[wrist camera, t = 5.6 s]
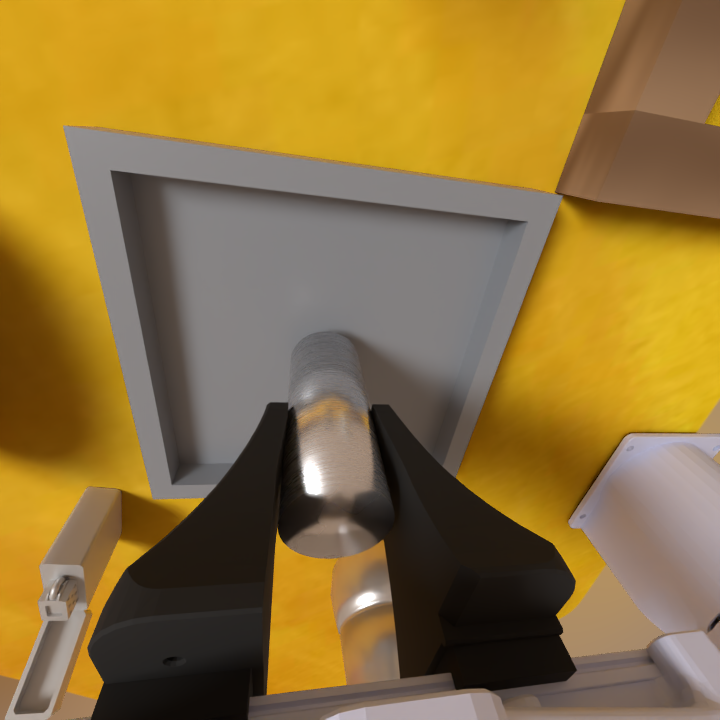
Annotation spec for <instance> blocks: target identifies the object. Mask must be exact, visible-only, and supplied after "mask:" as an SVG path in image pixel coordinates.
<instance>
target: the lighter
mask: <svg viewBox="0 0 720 720" xmlns="http://www.w3.org/2000/svg"><path fill="white" fill-rule="evenodd" d="M121 533H122V493H121V491H120V490H119V489H111V488H99V487H88V488H86V490H85V491H84V493H83V495H82V496H81V498H80V500H79V501H78V503H77V505H76V506H75V508H74V510H73V511H72V513H71V514H70V516H69V518H68V519H67V521H66V523H65V524H64V526H63V528H62V529H61V531H60V533H59V534H58V536H57V538H56V539H55V541H54V542H53V544H52V546H51V547H50V549H49V551H48V552H47V554H46V556H45V557H44V559H43V561H42V562H41V564H40V566H39V567H40V572H41V578H42V583H43V588H44V591H43V593H42V595H41V597H40V599H39V600H38V605H39V610H40V615H41V619H42V620H43V621H44V622H43V624H42V627H41V629H40V632H39V634H38V637H37V639H36V642H35V644H34V647H33V649H32V652H31V654H30V657H29V659H28V662H27V664H26V667H25V669H24V672H23V674H22V677H21V679H20V682H19V684H18V687H17V689H16V692H15V695H14V697H13V699H12V702H11V704H10V707H9V709H8V712H7V714H6V717H5V720H47V719H48V718H50V717H51V716H52V715H54V714H55V713H56V712H57V711H58V710H59V709H60V707H61V704H62V701H63V698H64V696H65V693H66V690H67V687H68V684H69V681H70V678H71V675H72V672H73V669H74V666H75V663H76V660H77V658H78V655H79V652H80V649H81V646H82V643H83V640H84V637H85V634H86V631H87V628H88V625H89V622H90V619H91V617H92V612H91V611H90V610H86V609H87V608H88V606H89V604H90V602H91V600H92V597H93V595H94V593H95V591H96V589H97V586H98V584H99V582H100V580H101V577H102V575H103V573H104V571H105V569H106V566H107V564H108V562H109V560H110V558H111V555H112V553H113V551H114V549H115V546H116V544H117V542H118V540H119V538H120V535H121Z"/></svg>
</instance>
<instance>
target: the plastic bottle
mask: <svg viewBox="0 0 720 720" xmlns="http://www.w3.org/2000/svg"><path fill="white" fill-rule="evenodd" d="M331 599H332V605H333V610H334V616H335V620H336V624H337V628H338V631H339V634H340V639H341V646H342V653H343V660H344V667H345V674H346V681H347V685H354V684H362V683H370V682H378V681H386V680H394V679H400V671H399V661H398V651H397V640H396V631H395V622H394V614H393V605H392V597H391V589H390V581H389V573H388V566H387V559H386V552H385V546H384V540H382V541H381V542H379V543H378V544H376V545H375V546H373V547H372V548H370V549H368V550H366V551H363V552H361V553H358V554H355V555H351V556H347V557H341V558H338V560H337V562H336V564H335V566H334V569H333V575H332V587H331Z"/></svg>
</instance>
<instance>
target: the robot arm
mask: <svg viewBox="0 0 720 720" xmlns="http://www.w3.org/2000/svg"><path fill="white" fill-rule="evenodd" d="M371 414H372V418H373V422H374V427H375V431H376V435H377V440H378V444H379V448H380V453H381V457H382V461H383V466H384V470H385V474H386V479H387V483H388V487H389V492H390V496H391V500H392V504H393V509H394V514H395V519H394V524H393V527H392V529H391V530H390V532H389V533H388V535H387V536H386V537H385V538H384V539H383V540H384V546H385V552H386V559H387V566H388V573H389V581H390V589H391V597H392V605H393V614H394V622H395V631H396V640H397V651H398V661H399V671H400V679H394V680H386V681H378V682H370V683H362V684H354V685H345V686H337V687H329V688H321V689H313V690H305V691H297V692H288V693H280V694H272V695H266V694H267V676H268V658H269V640H270V623H271V606H272V589H273V572H274V555H275V543H276V534H277V527H278V518H279V505H280V492H281V479H282V465H283V455H284V448H285V441H286V434H287V423H288V402H270V403H269V404H267V406H266V409H265V412H264V414H263V416H262V418H261V420H260V422H259V424H258V426H257V428H256V430H255V432H254V433H253V435H252V437H251V438H250V440H249V442H248V443H247V445H246V447H245V448H244V450H243V451H242V452H241V454H240V455H239V457H238V458H237V460H236V461H235V463H234V464H233V465H232V467H231V468H230V469H229V471H228V472H227V473H226V474H225V476H224V477H223V478H222V479H221V481H220V482H219V483H218V484H217V485H216V487H215V488H214V489H213V490H212V491H211V492H210V493H209V494H208V495H207V497H206V498H205V499H204V500H203V501H202V502H201V503H200V504H199V505H198V506H197V507H196V508H195V509H194V510H193V511H192V512H191V513H190V514H189V515H188V516H187V517H186V518H185V519H184V520H183V521H182V522H181V523H180V524H179V525H178V526H176V527H175V528H174V529H173V530H172V531H171V532H170V533H169V534H168V535H167V536H166V537H164V538H163V539H162V540H161V541H160V542H159V543H157V544H156V545H155V546H154V547H153V548H151V549H150V550H149V551H148V552H146V553H145V554H144V555H143V556H141V557H140V558H139V559H138V560H136V561H135V562H134V563H133V564H132V565H130V566H129V567H128V568H127V569H126V570H125V571H124V573H123V574H122V576H121V578H120V579H119V581H118V583H117V584H116V586H115V588H114V590H113V591H112V593H111V595H110V597H109V599H108V600H107V602H106V604H105V606H104V608H103V610H102V613H101V615H100V618H99V620H98V623H97V625H96V628H95V630H94V633H93V635H92V638H91V640H90V642H89V645H88V647H87V648H88V652H89V656H90V658H91V660H92V662H93V663H94V665H95V667H96V669H97V671H98V672H99V674H100V676H101V678H102V679H103V681H104V684H103V687H102V689H101V692H100V695H99V698H98V700H97V703H96V706H95V709H94V712H93V714H92V717H85V718H77V719H68V720H720V465H719V464H718V463H717V462H715V461H714V460H713V458H714V456H715V455H716V454H717V453H718V452H719V451H720V434H677V433H632V434H629V435H627V436H625V437H624V439H623V440H622V442H621V443H620V445H619V446H618V448H617V449H616V451H615V452H614V454H613V455H612V456H611V458H610V459H609V461H608V462H607V464H606V465H605V467H604V468H603V470H602V471H601V473H600V474H599V476H598V477H597V479H596V480H595V482H594V483H593V485H592V486H591V488H590V489H589V491H588V492H587V494H586V495H585V497H584V498H583V500H582V501H581V503H580V504H579V506H578V507H577V509H576V510H575V512H574V513H573V515H572V516H571V518H570V519H569V521H568V524H569V526H570V527H571V528H581V529H582V530H583V532H584V533H585V534H586V536H587V537H588V539H589V540H590V541H591V543H592V544H593V546H594V547H595V548H596V550H597V551H598V553H599V554H600V556H601V557H602V558H603V560H604V561H605V563H606V564H607V565H608V567H609V568H610V570H611V571H612V572H613V574H614V575H615V577H616V578H617V579H618V581H619V582H620V584H621V585H622V587H623V588H624V589H625V591H626V592H627V594H628V595H629V596H630V598H631V599H632V601H633V602H634V603H635V604H636V606H637V607H638V608H639V610H640V611H641V612H642V613H643V614H644V615H645V616H646V617H647V618H648V619H649V620H650V621H651V622H652V623H653V624H655V625H656V626H657V627H658V628H659V629H661V630H662V631H664V632H665V633H666V634H663V635H661V636H658V637H657V638H655V639H654V640H653V641H651V642H650V643H649V644H648V645H647V648H646V649H639V650H631V651H623V652H614V653H607V654H598V655H590V656H582V657H575V658H571V657H570V655H569V653H568V651H567V649H566V648H565V646H564V644H563V642H562V640H561V638H560V636H559V635H561V634H562V633H563V628H562V626H561V624H560V622H559V620H558V618H557V616H556V614H557V613H558V612H559V611H560V609H561V608H562V607H563V606H564V604H565V603H566V602H567V601H568V600H569V598H570V597H571V595H572V594H573V592H574V589H575V582H576V581H575V579H574V577H573V575H572V573H571V572H570V570H569V568H568V567H567V565H566V563H565V562H564V560H563V558H562V557H561V555H560V554H559V552H558V551H557V549H556V548H555V546H554V545H553V543H551V542H549V541H547V540H546V539H544V538H542V537H540V536H538V535H537V534H535V533H533V532H531V531H530V530H528V529H526V528H524V527H523V526H521V525H519V524H518V523H516V522H514V521H513V520H511V519H510V518H508V517H507V516H505V515H504V514H502V513H500V512H499V511H497V510H496V509H495V508H493V507H492V506H490V505H489V504H487V503H486V502H485V501H483V500H482V499H481V498H479V497H478V496H477V495H475V494H474V493H473V492H471V491H470V490H469V489H468V488H466V487H465V486H464V485H463V484H462V483H460V482H459V481H458V480H457V479H456V478H455V477H454V476H452V475H451V474H450V473H449V472H448V471H447V470H446V469H445V468H444V467H443V466H441V465H440V464H439V463H438V462H437V460H436V459H435V458H434V457H433V456H432V455H431V454H430V453H429V452H428V451H427V450H426V449H425V448H424V447H423V446H422V444H421V443H420V442H419V441H418V440H417V439H416V438H415V436H414V435H413V434H412V433H411V432H410V430H409V429H408V428H407V427H406V425H405V424H404V423H403V422H402V420H401V419H400V418H399V417H398V415H397V414H396V413H395V411H394V410H393V409H392V408H391V407H390V405H389V404H372V408H371Z"/></svg>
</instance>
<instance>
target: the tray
mask: <svg viewBox="0 0 720 720" xmlns="http://www.w3.org/2000/svg"><path fill="white" fill-rule="evenodd" d="M63 127H64V131H65V136H66V140H67V144H68V148H69V152H70V156H71V160H72V165H73V169H74V173H75V177H76V181H77V185H78V190H79V194H80V198H81V202H82V206H83V210H84V214H85V219H86V223H87V227H88V231H89V235H90V239H91V244H92V248H93V252H94V256H95V260H96V264H97V268H98V273H99V277H100V281H101V285H102V289H103V293H104V297H105V302H106V306H107V310H108V314H109V318H110V322H111V327H112V331H113V335H114V339H115V343H116V347H117V351H118V356H119V360H120V364H121V368H122V372H123V376H124V381H125V385H126V389H127V393H128V397H129V401H130V405H131V410H132V414H133V418H134V422H135V426H136V430H137V435H138V439H139V443H140V447H141V451H142V455H143V459H144V464H145V468H146V472H147V476H148V480H149V484H150V488H151V493H152V497H153V499H180V498H206V497H207V495H208V494H209V493H210V492H211V491H212V490H213V489H214V488H215V487H216V485H217V484H218V483H219V482H220V481H221V479H222V478H223V477H224V476H225V474H226V473H227V472H228V471H229V469H230V468H231V467H232V465H233V464H234V463H235V461H236V460H237V458H238V457H239V455H240V454H241V452H242V451H243V450H244V448H245V447H246V445H247V443H248V442H249V440H250V438H251V437H252V435H253V433H254V432H255V430H256V428H257V426H258V424H259V422H260V420H261V418H262V416H263V414H264V412H265V409H266V406H267V404H269V403H270V402H287V399H288V385H289V372H290V359H291V354H292V351H293V349H294V347H295V346H296V345H297V343H298V342H299V341H300V340H302V339H303V338H304V337H306V336H308V335H310V334H313V333H317V332H334V333H337V334H340V335H342V336H344V337H346V338H347V339H348V340H349V341H351V343H352V344H353V345H354V347H355V348H356V350H357V353H358V357H359V362H360V366H361V370H362V375H363V379H364V383H365V388H366V392H367V396H368V401H369V405H370V409H371V408H372V404H389V405H390V407H391V408H392V409H393V410H394V411H395V413H396V414H397V415H398V417H399V418H400V419H401V420H402V422H403V423H404V424H405V425H406V427H407V428H408V429H409V430H410V432H411V433H412V434H413V435H414V436H415V438H416V439H417V440H418V441H419V442H420V443H421V444H422V446H423V447H424V448H425V449H426V450H427V451H428V452H429V453H430V454H431V455H432V456H433V457H434V458H435V459H436V460H437V462H438V463H439V464H440V465H441V466H443V467H444V468H445V469H446V470H447V471H448V472H449V473H450V474H451V475H452V476H454V477H456V475H457V472H458V469H459V467H460V464H461V462H462V459H463V456H464V454H465V451H466V449H467V446H468V443H469V441H470V438H471V435H472V433H473V430H474V428H475V425H476V422H477V420H478V417H479V415H480V412H481V409H482V407H483V404H484V401H485V399H486V396H487V394H488V391H489V388H490V386H491V383H492V380H493V378H494V375H495V373H496V370H497V367H498V365H499V362H500V360H501V357H502V354H503V352H504V349H505V346H506V344H507V341H508V339H509V336H510V333H511V331H512V328H513V326H514V323H515V320H516V318H517V315H518V312H519V310H520V307H521V305H522V302H523V299H524V297H525V294H526V292H527V289H528V286H529V284H530V281H531V278H532V276H533V273H534V271H535V268H536V265H537V263H538V260H539V257H540V255H541V252H542V250H543V247H544V244H545V242H546V239H547V237H548V234H549V231H550V229H551V226H552V223H553V221H554V218H555V216H556V213H557V210H558V208H559V205H560V203H561V200H562V197H563V196H562V195H557V194H553V193H549V192H545V191H540V190H536V189H531V188H524V187H517V186H510V185H503V184H496V183H489V182H481V181H474V180H467V179H460V178H453V177H446V176H439V175H432V174H425V173H418V172H411V171H404V170H397V169H390V168H383V167H376V166H369V165H362V164H355V163H348V162H341V161H334V160H326V159H319V158H312V157H305V156H298V155H291V154H284V153H277V152H270V151H263V150H256V149H249V148H242V147H235V146H228V145H221V144H214V143H207V142H200V141H193V140H186V139H178V138H171V137H164V136H157V135H150V134H143V133H136V132H129V131H122V130H115V129H108V128H101V127H86V126H63Z"/></svg>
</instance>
